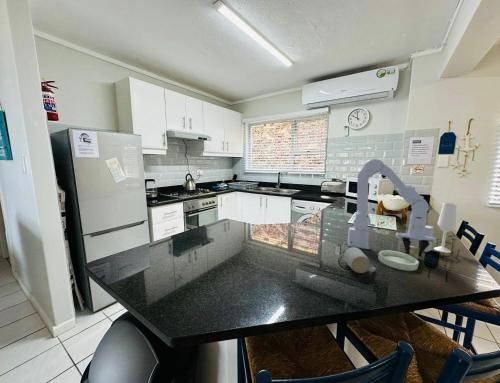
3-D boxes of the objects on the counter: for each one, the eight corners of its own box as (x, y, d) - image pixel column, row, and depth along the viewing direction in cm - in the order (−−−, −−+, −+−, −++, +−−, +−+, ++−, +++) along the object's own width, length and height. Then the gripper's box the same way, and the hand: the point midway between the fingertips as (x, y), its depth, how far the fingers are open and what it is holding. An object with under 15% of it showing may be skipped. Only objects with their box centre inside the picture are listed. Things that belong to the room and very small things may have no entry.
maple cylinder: (408, 258, 96) (410, 248, 95) (405, 255, 100) (407, 245, 99) (419, 260, 95) (420, 249, 94) (416, 257, 98) (417, 246, 98)
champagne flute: (454, 253, 104) (462, 205, 101) (437, 251, 106) (445, 203, 103) (446, 248, 110) (454, 203, 107) (431, 246, 113) (438, 201, 109)
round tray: (381, 266, 88) (382, 260, 87) (375, 253, 101) (376, 248, 100) (423, 273, 83) (424, 267, 82) (411, 259, 96) (411, 253, 95)
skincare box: (426, 252, 104) (430, 228, 103) (415, 249, 108) (419, 226, 106) (431, 250, 108) (435, 226, 106) (420, 247, 111) (424, 224, 110)
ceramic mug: (351, 274, 80) (353, 254, 79) (342, 263, 89) (344, 246, 88) (379, 276, 80) (382, 256, 79) (368, 265, 88) (370, 247, 87)
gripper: (400, 226, 94) (396, 255, 96) (441, 230, 89) (436, 261, 91) (396, 222, 101) (392, 249, 102) (434, 226, 95) (429, 255, 97)
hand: (412, 255), depth 97 cm, fingers closed on maple cylinder, 4 cm apart
